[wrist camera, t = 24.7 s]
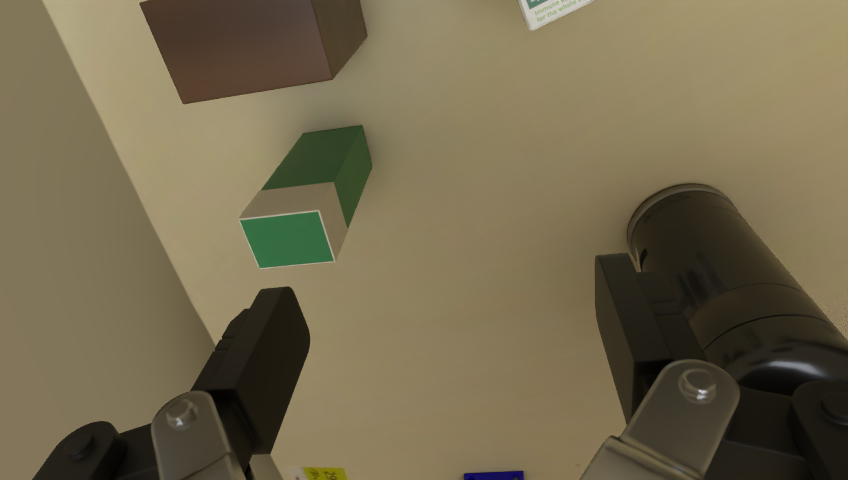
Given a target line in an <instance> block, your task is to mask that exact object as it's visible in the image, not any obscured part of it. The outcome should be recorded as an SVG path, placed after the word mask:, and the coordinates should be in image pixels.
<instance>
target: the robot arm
mask: <svg viewBox="0 0 848 480" xmlns="http://www.w3.org/2000/svg"><path fill="white" fill-rule="evenodd" d="M627 241H628V245H629V248H630V250H631V253H632V255H633V257H634V259H635V260H636V261H637V263H638V268H639V272H636V270H635V268H634V266H633V263H632V261H631V259H630V256H629V254H628V253H618V254H608V255H597V256H596V257H595V308H596V317H597V323H598V327H599V331H600V334H601V338H602V341H603V345H604V348H605V352H606V355H607V358H608V362H609V365H610V369H611V372H612V376H613V379H614V383H615V386H616V389H617V393H618V396H619V400H620V403H621V407H622V410H623V414H624V417H625V420H626V424H627V426H626V428H625V430H624V431H623V433H622V434H621V435H620V436H619V437H618V438H617V437H615V436H613V435H612V436H609V437H608V438H607V439H606V440H605V441H604V442H603V444H602V445H601V447H600V448H599V450H598V451H597V453H596V454H595V456H594V458H593V459H592V461H591V462H590V464H589V465H588V467H587V468H586V470H585V471H584V473H583V475H582V476H581V478H580V479H579V480H848V340H847V339H846V338H845V337H844V336H843V335H842V334H841V332H840V331H839V330H838V329H837V328H836V327H835V326H834V325H833V323H832V322H831V321H830V320H829V319H828V317H827V316H826V315H825V314H824V313H823V312H822V310H821V309H820V308H819V307H818V306H817V305H816V303H815V302H814V301H813V300H812V299H811V298H810V297H809V296H808V294H807V293H806V292H805V291H804V290H803V288H802V287H801V286H800V285H799V284H798V282H797V281H796V280H795V279H794V278H793V277H792V275H791V274H790V273H789V272H788V271H787V269H786V268H785V267H784V266H783V265H782V264H781V262H780V261H779V260H778V259H777V258H776V256H775V255H774V254H773V253H772V252H771V250H770V249H769V248H768V247H767V246H766V245H765V243H764V242H763V241H762V240H761V239H760V237H759V236H758V235H757V234H756V233H755V232H754V230H753V229H752V228H751V227H750V226H749V224H748V223H747V222H746V221H745V219H744V218H743V217H742V216H741V215H740V214H739V212H738V211H737V209H736V207H735V206H734V205H733V203H732V202H731V201H730V200H729V199H728V198H727V197H726V196H725V195H724V194H723V193H722V192H720V191H719V190H717V189H715V188H712V187H709V186H705V185H699V184H686V185H679V186H675V187H671V188H668V189H666V190H663V191H661V192H659V193H657V194H656V195H654V196H652V197H651V198H649V199H648V200H647V201H646V202H645V203H643V204H642V205H641V206H640V207H639V209H638V210H637V211H636V213H635V214H634V216H633V217H632V219H631V221H630V224H629V227H628V232H627ZM309 347H310V333H309V329H308V326H307V324H306V321H305V318H304V316H303V313H302V311H301V308H300V306H299V303H298V301H297V298H296V296H295V293H294V291H293V290H292V288H290V287H278V288H268V289H262V290H260V291H259V293H258V295H257V296H256V298H255V300H254V302H253V304H252V305H251V307H250V308H249V309H244V310H243V311H242V312H241V313H240V314H239V315H238V316H237V317H235V318H234V319H233V320H232V321H231V322H230V324H229V325H228V327H227V329H226V330H225V332H224V334H223V336H222V340H220V341H219V342H218V344H217V346H216V348H215V352H213V353H212V355H211V356H210V358H209V360H208V361H207V363H206V365H205V367H204V368H203V370H202V372H201V373H200V375H199V377H198V379H197V380H196V382H195V384H194V385H193V387H192V389H191V390H190V392H186V393H184V394H181V395H179V396H177V397H175V398H174V399H172V400H170V401H169V402H168V403H166V404H165V405H164V406H163V407H162V408H161V409H160V410H159V411H158V413H157V414H156V416H155V417H154V419H153V421H152V423H150V424H148V425H144V426H142V427H138V428H135V429H132V430H129V431H126V432H123V433H120V434H119V433H118V432H117V430H116V429H115V428H114V426H113V425H112V424H111V423H109V422H105V421H98V422H93V423H90V424H87V425H85V426H83V427H80V428H79V429H77V430H75V431H74V432H72V433H71V434H69V435H68V436H67V437H66V438H64V439H63V440H62V441H61V442H60V443H59V444H58V445H57V446H56V448H55V449H54V450H53V451H52V453H51V454H50V456H49V457H48V458H47V460H46V461H45V463H44V464H43V466H42V467H41V468H40V470H39V471H38V472H37V474H36V475H35V477H34V478H33V479H32V480H258V478H257V476H256V473H255V471H254V469H253V467H252V465H251V464H250V459H251V457H252V455H255V454H271V451H272V448H273V446H274V443H275V440H276V437H277V435H278V432H279V429H280V427H281V424H282V421H283V419H284V416H285V413H286V411H287V408H288V405H289V403H290V400H291V397H292V394H293V392H294V389H295V386H296V384H297V381H298V378H299V376H300V373H301V370H302V368H303V365H304V362H305V360H306V357H307V354H308V351H309Z"/></svg>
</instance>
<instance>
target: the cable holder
mask: <svg viewBox="0 0 848 480" xmlns="http://www.w3.org/2000/svg"><path fill="white" fill-rule="evenodd" d="M464 480H524V474H523V471H515V472H492V473H470V474H464Z"/></svg>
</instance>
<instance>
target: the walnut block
mask: <svg viewBox="0 0 848 480" xmlns="http://www.w3.org/2000/svg"><path fill="white" fill-rule="evenodd" d="M140 6H141V9H142V11H143V13H144V16H145V18H146V20H147V23H148V25H149V27H150V29H151V32H152V34H153V36H154V39H155V41H156V43H157V46H158V48H159V50H160V52H161V55H162V57H163V59H164V62H165V64H166V66H167V69H168V71H169V73H170V75H171V78H172V80H173V82H174V85H175V87H176V89H177V92H178V94H179V96H180V98H181V101H182V103H183V104H189V103H195V102H201V101H207V100H213V99H219V98H225V97H231V96H237V95H243V94H249V93H255V92H261V91H267V90H273V89H279V88H285V87H291V86H297V85H304V84H310V83H316V82H322V81H328V80H332V79H334V77H335V76H336V75H337V74H338V72H339V71H340V70H341V69H342V67H343V66H344V65H345V64H346V62H347V61H348V60H349V59H350V58H351V56H352V55H353V54H354V53H355V51H356V50H357V49H358V48H359V46H360V45H361V44H362V43H363V41H364V40H365V39H366V38H367V32H366V28H365V23H364V19H363V15H362V10H361V6H360V1H359V0H147V1H144V2H141V3H140Z"/></svg>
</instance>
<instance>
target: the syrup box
mask: <svg viewBox="0 0 848 480" xmlns="http://www.w3.org/2000/svg"><path fill="white" fill-rule="evenodd" d="M517 1H518V4H519V7H520V9H521V12H522V15H523V18H524V20H525V23H526V25H527V28H528V29H529V30H530V31H534V30H536V29H538V28H540V27H542V26H544V25H546V24H548V23H550V22H552V21H554V20H556V19H558V18H560V17H563V16H565V15H567V14H569V13H571V12H573V11H575V10H577V9H579V8H581V7H583V6H585V5H587V4H589V3H591V2H593V1H596V0H517Z"/></svg>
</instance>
